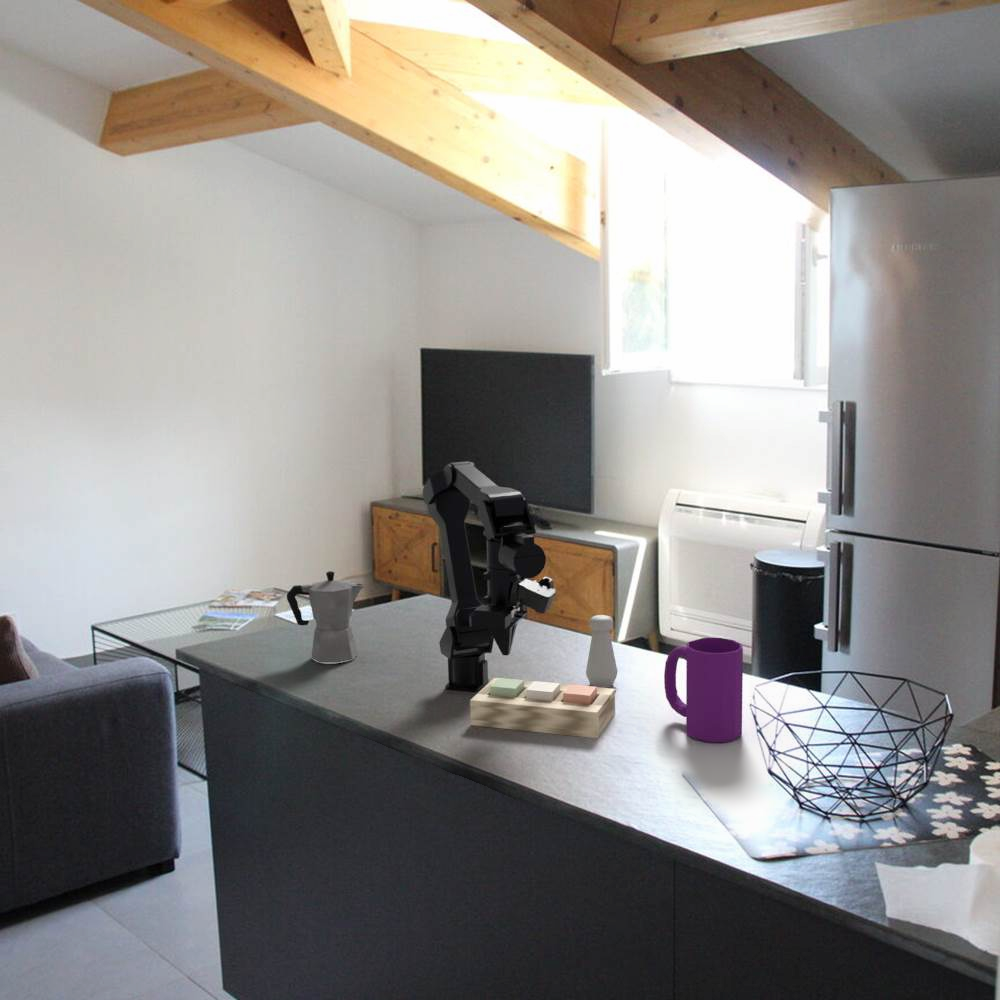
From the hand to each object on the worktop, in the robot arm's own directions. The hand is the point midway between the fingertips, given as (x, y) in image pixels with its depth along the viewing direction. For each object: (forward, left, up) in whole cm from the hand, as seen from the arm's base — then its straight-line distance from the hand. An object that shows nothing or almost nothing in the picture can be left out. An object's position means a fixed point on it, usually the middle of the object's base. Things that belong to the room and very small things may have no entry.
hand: (506, 654), depth 198 cm
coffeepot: (-45, +21, -11) cm, 51 cm away
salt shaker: (+12, +20, -11) cm, 26 cm away
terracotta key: (+13, 0, -8) cm, 16 cm away
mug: (+33, +3, -11) cm, 35 cm away
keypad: (+7, 0, -11) cm, 13 cm away
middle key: (+7, 0, -8) cm, 11 cm away
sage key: (0, 0, -8) cm, 8 cm away
